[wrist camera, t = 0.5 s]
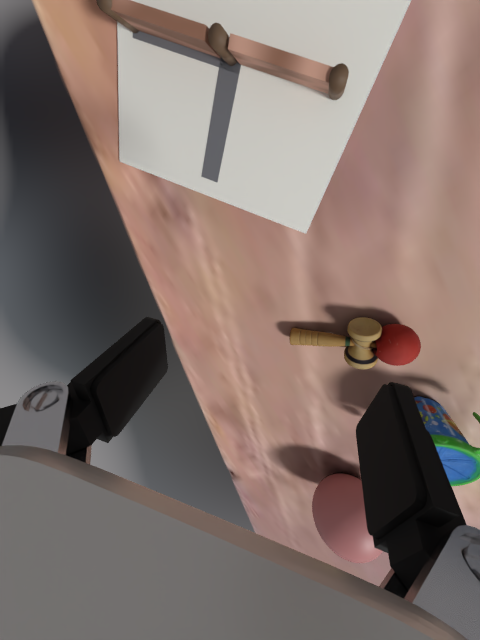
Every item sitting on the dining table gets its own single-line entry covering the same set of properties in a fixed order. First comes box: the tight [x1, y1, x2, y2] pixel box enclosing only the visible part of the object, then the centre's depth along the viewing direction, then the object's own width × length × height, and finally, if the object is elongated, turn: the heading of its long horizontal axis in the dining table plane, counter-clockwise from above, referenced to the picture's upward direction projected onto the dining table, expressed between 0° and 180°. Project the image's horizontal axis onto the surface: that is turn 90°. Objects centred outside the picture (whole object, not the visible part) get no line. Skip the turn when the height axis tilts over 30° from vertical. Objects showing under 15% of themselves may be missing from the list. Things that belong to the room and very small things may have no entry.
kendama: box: [290, 317, 421, 369], centre depth 37 cm, size 8×6×18 cm
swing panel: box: [228, 33, 349, 100], centre depth 23 cm, size 11×2×4 cm, turn 74°
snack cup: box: [414, 396, 480, 486], centre depth 39 cm, size 16×10×10 cm
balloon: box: [312, 473, 382, 563], centre depth 53 cm, size 15×20×15 cm
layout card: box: [117, 0, 411, 234], centre depth 27 cm, size 23×29×1 cm
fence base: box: [97, 0, 237, 66], centre depth 24 cm, size 2×13×5 cm, turn 74°
